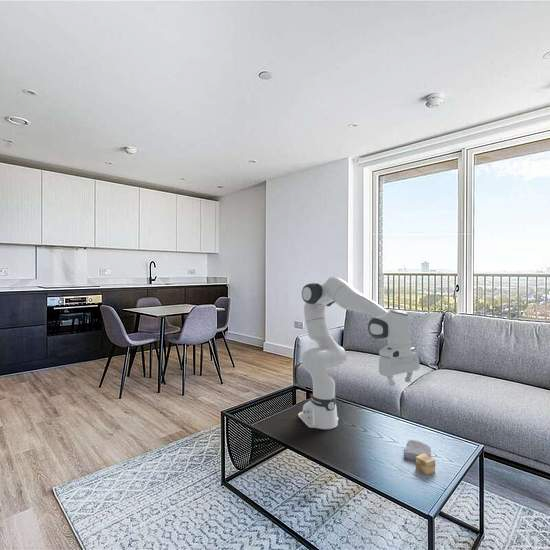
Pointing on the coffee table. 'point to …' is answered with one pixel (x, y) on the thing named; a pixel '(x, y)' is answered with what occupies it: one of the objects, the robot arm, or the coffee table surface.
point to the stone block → (415, 449)
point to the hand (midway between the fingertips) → (400, 383)
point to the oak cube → (425, 464)
